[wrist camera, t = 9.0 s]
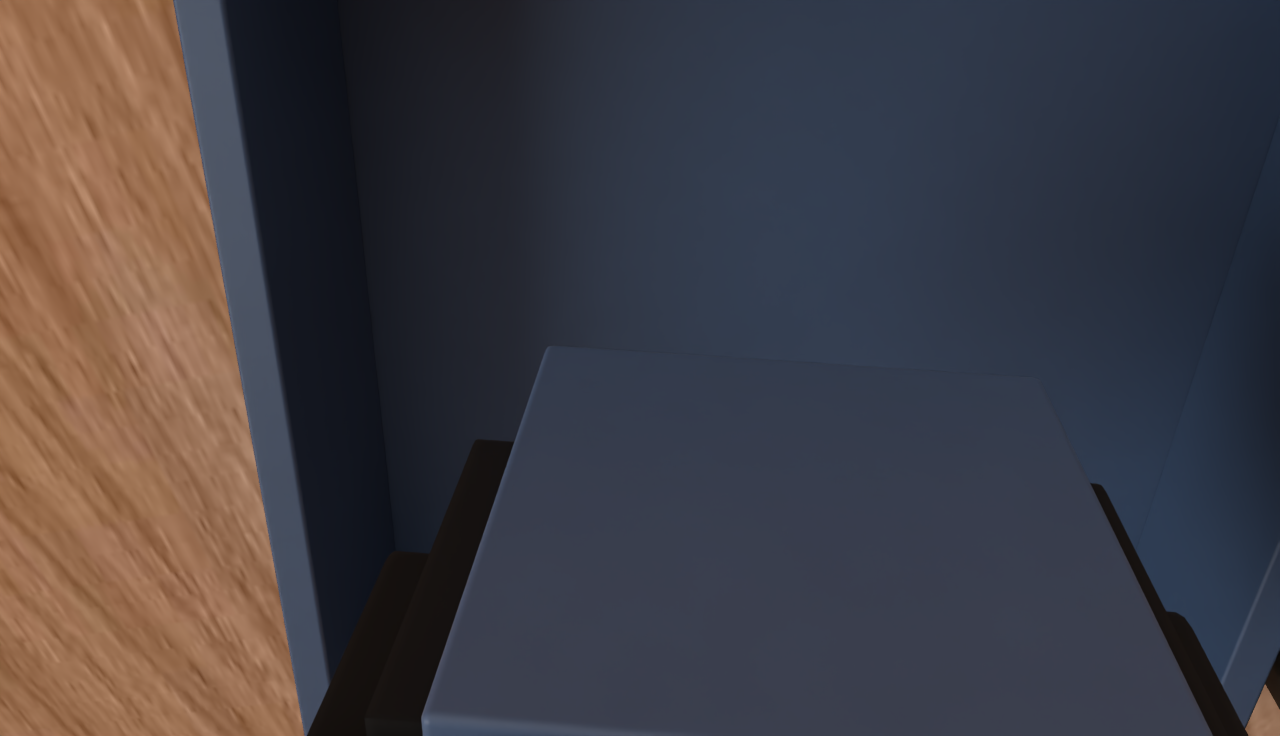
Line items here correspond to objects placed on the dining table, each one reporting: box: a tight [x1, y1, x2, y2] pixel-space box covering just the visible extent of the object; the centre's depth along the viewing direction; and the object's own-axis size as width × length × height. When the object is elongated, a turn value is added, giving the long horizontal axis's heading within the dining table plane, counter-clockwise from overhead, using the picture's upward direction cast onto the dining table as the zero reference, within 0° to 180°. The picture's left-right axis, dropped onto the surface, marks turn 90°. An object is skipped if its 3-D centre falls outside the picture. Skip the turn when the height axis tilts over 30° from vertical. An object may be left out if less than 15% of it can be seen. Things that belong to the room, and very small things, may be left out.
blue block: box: [421, 346, 1213, 736], centre depth 10 cm, size 5×5×5 cm
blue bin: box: [173, 0, 1280, 736], centre depth 16 cm, size 14×14×4 cm
